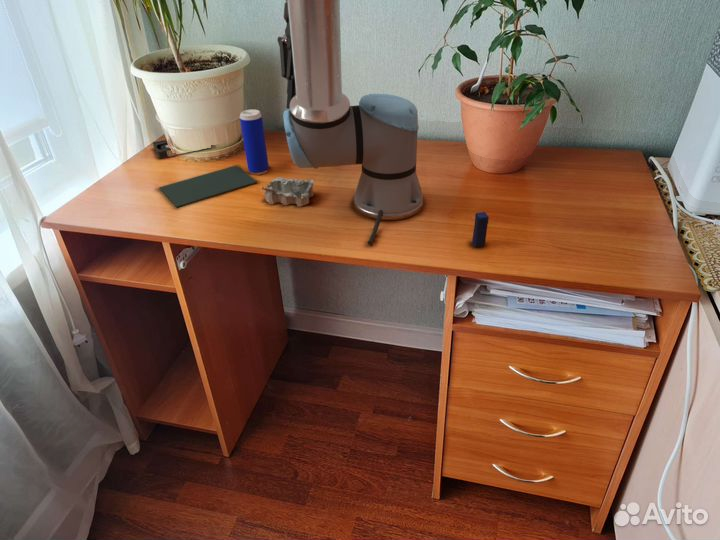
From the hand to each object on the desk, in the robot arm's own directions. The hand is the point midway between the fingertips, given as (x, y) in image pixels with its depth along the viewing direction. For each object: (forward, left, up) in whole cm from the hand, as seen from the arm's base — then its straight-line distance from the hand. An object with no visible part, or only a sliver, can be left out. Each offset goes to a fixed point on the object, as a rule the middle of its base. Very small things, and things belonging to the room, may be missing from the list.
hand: (292, 109), depth 125 cm
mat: (-8, +22, -15) cm, 27 cm away
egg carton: (-17, +2, -15) cm, 23 cm away
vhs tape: (+17, +32, -15) cm, 39 cm away
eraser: (-42, -35, -15) cm, 57 cm away
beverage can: (-1, +10, -15) cm, 18 cm away
